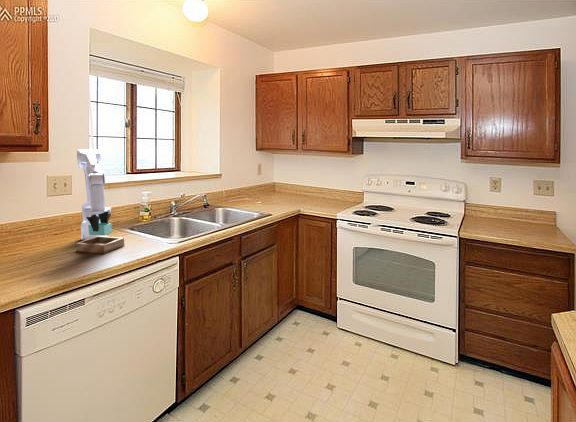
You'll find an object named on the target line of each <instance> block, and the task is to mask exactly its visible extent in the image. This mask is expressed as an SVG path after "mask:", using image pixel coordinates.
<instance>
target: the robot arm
mask: <svg viewBox="0 0 576 422" xmlns="http://www.w3.org/2000/svg"><path fill="white" fill-rule="evenodd" d="M76 158H77V159H76V160H77V165H78V168H80V169H82V170H83V172H84V179H85V188H86V189H85V190H86V198H87V199H86V202H84V203H83V204H82V206H81V214H82V215H81V217H82V220H83V221H82V222H81V224H80V232H81V233H80V234H81V238H80V240H83V241H84V240H87V239H90V238H93V237H96V236H101V235H89V228H88V225H89V224H91V226H92V229H93V231H96V232H97V231H98V229H99V223H109V220H110V217H111V216H112V213H111V212H112V207H108V206H107V207H106V197H105V185H106V177H105V176H106V175H105V173H104V172H103V171H102V170H101V167H100V164H101V151H100V149H77V150H76ZM105 237H108V235H106V236H105Z"/></svg>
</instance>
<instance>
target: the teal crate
mask: <svg viewBox="0 0 576 422" xmlns="http://www.w3.org/2000/svg"><path fill="white" fill-rule="evenodd" d="M112 227H113V226H112V223H110V222H108V223H99V229H98V231H97V232H96V231H93V229H92V226H91V224H89V225H88V228H89V235H101V236H108V235H110V234H113V228H112Z"/></svg>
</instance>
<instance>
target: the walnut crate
mask: <svg viewBox="0 0 576 422" xmlns="http://www.w3.org/2000/svg"><path fill="white" fill-rule="evenodd" d="M123 246H125V238H124V237H115V236H107V237H105V236H96V237H93V238H90V239H87V240H84V239H83V240H82V241H79V242H76V243H75V250H76V252H82V253H83V252H85V253H93V254H95V253H97V254H107V253H108V252H111V251H113V250H116V249H118V248H121V247H123Z"/></svg>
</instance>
